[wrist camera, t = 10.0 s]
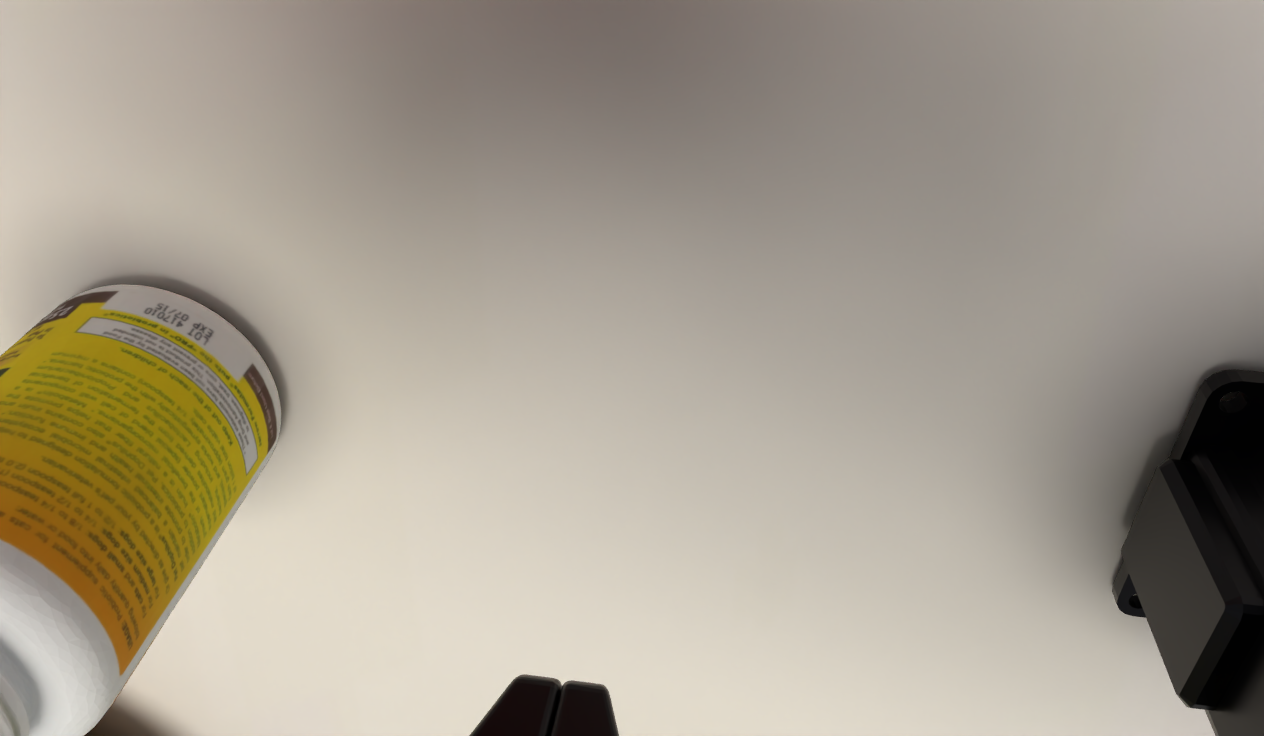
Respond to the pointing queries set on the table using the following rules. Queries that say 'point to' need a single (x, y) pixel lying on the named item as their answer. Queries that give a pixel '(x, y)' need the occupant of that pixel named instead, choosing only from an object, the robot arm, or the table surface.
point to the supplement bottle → (115, 488)
